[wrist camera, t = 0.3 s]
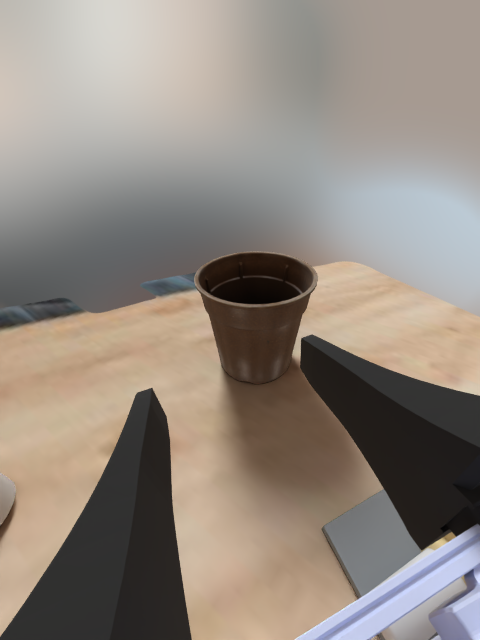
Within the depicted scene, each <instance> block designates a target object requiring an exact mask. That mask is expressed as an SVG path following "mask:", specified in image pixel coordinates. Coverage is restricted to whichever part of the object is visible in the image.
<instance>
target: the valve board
mask: <svg viewBox="0 0 480 640" xmlns="http://www.w3.org/2000/svg"><path fill="white" fill-rule="evenodd" d="M322 530H323V532H324V534H325V536H326V538H327V540H328V542H329V543H330V545H331V547H332V549H333V551H334V553H335V555H336V557H337V559H338V560H339V562H340V564H341V566H342V568H343V570H344V572H345V574H346V576H347V577H348V579H349V581H350V583H351V585H352V587H353V589H354V591H355V593H356V594H357V596H358V598H361V597H362V596H364V595H366V594H367V593H369V592H370V591H372V590H374V589H375V588H377V587H378V586H380V585H381V584H383V583H385V582H386V581H388V580H389V579H391V578H392V577H394V576H396V575H397V574H399V573H400V572H402V571H403V570H405V569H407V568H408V567H410V566H411V565H413V564H414V563H416V562H418V561H419V560H421V559H422V558H424V557H426V556H427V555H429V554H430V553H432V552H433V551H435V550H437V549H438V548H440V547H441V546H443V545H444V544H446V543H448V542H449V541H451V540H452V539H454V538H455V537H456V536H455V535H454V534H453V533H452V532H451V533H449V534H448V535H446V536H444V537H443V538H441V539H440V540H438V541H436V542H435V543H433V544H432V545H430V546H428V547H427V548H425V549H424V550H421V549H420V548H419V547H418V546H417V544H416V543H415V541H414V540H413V539H412V537H411V536H410V534H409V532H408V531H407V529H406V527H405V525H404V523H403V521H402V519H401V518H400V516H399V514H398V512H397V511H396V509H395V507H394V505H393V503H392V502H391V500H390V498H389V496H388V495H387V493H386V491H385V490H384V489H383V490H382V491H380V492H378V493H377V494H375V495H373V496H372V497H370V498H368V499H367V500H365V501H364V502H362V503H360V504H359V505H357V506H355V507H354V508H352V509H351V510H349V511H347V512H346V513H344V514H342V515H341V516H339V517H337V518H336V519H334V520H333V521H331V522H329V523H328V524H326V525H324V526H323V528H322ZM466 588H467V585H466V582H465V579H464V575H463V576H462V577H461V578H459V579H458V580H456V581H455V582H453V583H452V584H450V585H449V586H447V587H446V588H445V589H443V590H442V591H440V592H439V593H437V594H436V595H434V596H433V597H431V598H430V599H428V600H427V601H426V602H424V603H423V604H421V605H420V606H418V607H417V608H415V609H414V610H412V611H411V612H410V613H408V614H407V615H405V616H404V617H402V618H401V619H399V620H398V621H396V622H395V623H394V624H392V625H391V626H389V627H388V628H386V629H385V630H383V631H382V632H380V633H379V634H378V636H379V638H380V640H431V639H433V638H434V637H436V636H437V635H438V633H437V632H436V630H435V629H434V627H433V625H432V624H431V622H430V621H429V619H428V614H429V613H431V612H432V611H433V610H434V609H435V608H436V607H437V606H439V605H440V604H441V603H442V602H444V601H445V600H446V599H448V598H450V597H451V596H453V595H455V594H457V593H459V592H461V591H463V590H465V589H466Z"/></svg>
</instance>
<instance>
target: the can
mask: <svg viewBox="0 0 480 640" xmlns="http://www.w3.org/2000/svg"><path fill="white" fill-rule="evenodd" d="M15 494H16V488H15V484H14V482H13V481H12V480H10V479H9V478H8V477H6V476H5V475H3V474H2V473H0V525H1V524H2V523H3V521H4V520H5V518H6V517H7V515H8V513H9V511H10V509H11V507H12V505H13V503H14V499H15Z"/></svg>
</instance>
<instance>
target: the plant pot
mask: <svg viewBox="0 0 480 640" xmlns="http://www.w3.org/2000/svg"><path fill="white" fill-rule="evenodd" d="M317 281H318V276H317V273H316V271H315V270H314V269H313V268H312V267H311V266H310V265H309V264H307V263H306V262H304V261H302V260H300V259H298V258H295V257H293V256H289V255H285V254H280V253H273V252H241V253H235V254H230V255H226V256H222V257H219V258H217V259H214V260H212V261H210V262H208V263H206V264H205V265H203V266H202V267H201V268H200V269H199V270H198V271H197V272H196V274H195V278H194V282H195V285H196V288H197V290H198V291H199V292H200V293H201V296H202V299H203V303H204V306H205V309H206V311H207V313H208V314H209V317H210V321H211V325H212V328H213V332H214V336H215V340H216V344H217V348H218V352H219V356H220V361H221V364H222V366H223V368H224V370H225V371H226V372H227V373H228V374H229V375H230V376H231V377H233V378H234V379H236V380H238V381H247V382H251V383H253V384H262V383H267V382H270V381H272V380H275V379H277V378H278V377H280V376H281V375H282V374H284V373H285V372H286V370H287V369H288V367H289V364H290V361H291V356H292V352H293V348H294V344H295V341H296V337H297V333H298V329H299V326H300V322H301V318H302V314H303V313H304V312H305V310H306V308H307V305H308V301H309V298H310V294H311V293H312V292H313V291H314V289H315V287H316V285H317Z"/></svg>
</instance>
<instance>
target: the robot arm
mask: <svg viewBox="0 0 480 640" xmlns="http://www.w3.org/2000/svg"><path fill="white" fill-rule="evenodd" d="M300 368H301V370H302V372H303V373H304V375H305V377H306V378H307V380H308V381H309V383H310V384H311V386H312V387H313V388H314V390H315V391H316V392H317V393H318V395H319V396H320V397H321V398H322V400H323V401H324V402H325V403H326V405H327V406H328V407H329V408H330V410H331V411H332V412H333V413H334V414H335V416H336V417H337V418H338V419H339V421H340V422H341V423H342V425H343V426H344V427H345V429H346V430H347V431H348V433H349V434H350V436H351V437H352V439H353V440H354V442H355V443H356V445H357V446H358V448H359V449H360V451H361V452H362V454H363V455H364V457H365V459H366V460H367V462H368V463H369V465H370V466H371V468H372V470H373V471H374V473H375V475H376V476H377V478H378V480H379V481H380V483H381V485H382V486H383V488H384V490H385V491H386V493H387V495H388V496H389V498H390V500H391V502H392V503H393V505H394V507H395V509H396V511H397V512H398V514H399V516H400V518H401V519H402V521H403V523H404V525H405V527H406V529H407V531H408V532H409V534H410V536H411V537H412V539H413V540H414V541H415V543H416V544H417V546H418V547H419V548H420V549H421V550H424V549H425V548H427V547H428V546H430V545H432V544H433V543H435V542H436V541H438V540H440V539H441V538H443V537H444V536H446V535H448V534H449V533H451V532H452V533H453V534H454V535H455V536H456V537H455V538H454V539H452V540H451V541H449V542H448V543H446V544H444V545H443V546H441V547H440V548H438V549H437V550H435V551H433V552H432V553H430V554H429V555H427V556H426V557H424V558H422V559H421V560H419V561H418V562H416V563H414V564H413V565H411V566H410V567H408V568H407V569H405V570H403V571H402V572H400V573H399V574H397V575H396V576H394V577H392V578H391V579H389V580H388V581H386V582H385V583H383V584H381V585H380V586H378V587H377V588H375V589H374V590H372V591H370V592H369V593H367V594H366V595H364V596H362V597H361V598H359V599H358V600H356V601H355V602H353V603H351V604H350V605H348V606H347V607H345V608H344V609H342V610H340V611H339V612H337V613H336V614H334V615H333V616H331V617H329V618H328V619H326V620H325V621H323V622H322V623H320V624H318V625H317V626H315V627H314V628H312V629H310V630H309V631H307V632H306V633H304V634H303V635H301V636H299V637H298V638H296V639H295V640H370V639H372V638H373V637H375V636H376V635H378V634H379V633H380V632H382V631H383V630H385V629H386V628H388V627H389V626H391V625H392V624H394V623H395V622H396V621H398V620H399V619H401V618H402V617H404V616H405V615H407V614H408V613H410V612H411V611H412V610H414V609H415V608H417V607H418V606H420V605H421V604H423V603H424V602H426V601H427V600H428V599H430V598H431V597H433V596H434V595H436V594H437V593H439V592H440V591H442V590H443V589H445V588H446V587H447V586H449V585H450V584H452V583H453V582H455V581H456V580H458V579H459V578H461V577H462V576H463V575H464V579H465V582H466V585H467V588H466V589H465V590H463V591H461V592H459V593H457V594H455V595H453V596H451V597H450V598H448V599H446V600H445V601H444V602H442V603H441V604H440V605H439V606H437V607H436V608H435V609H434V610H433V611H432V612H431V613H429V614H428V619H429V621H430V622H431V624H432V625H433V627H434V629H435V630H436V632H437V633H438V635H437V636H436V637H434V638H433V639H431V640H480V396H478V395H474V394H469V393H465V392H461V391H456V390H453V389H449V388H445V387H441V386H438V385H434V384H431V383H427V382H424V381H420V380H417V379H414V378H411V377H408V376H405V375H402V374H400V373H397V372H394V371H391V370H388V369H386V368H383V367H381V366H378V365H376V364H374V363H371V362H369V361H367V360H364V359H362V358H360V357H358V356H355V355H353V354H351V353H349V352H347V351H345V350H343V349H341V348H339V347H337V346H335V345H333V344H331V343H329V342H327V341H325V340H323V339H321V338H319V337H317V336H314V335H309V336H306V337H303V338H301V361H300ZM0 640H192V639H191V633H190V626H189V620H188V614H187V608H186V602H185V595H184V588H183V582H182V575H181V568H180V561H179V554H178V546H177V539H176V531H175V523H174V515H173V505H172V485H171V456H170V437H169V430H168V423H167V417H166V415H165V413H164V411H163V409H162V407H161V405H160V403H159V401H158V399H157V397H156V395H155V393H154V391H153V389H152V388H150V389H147V390H144V391H141V392H138V393H137V394H136V396H135V399H134V401H133V404H132V407H131V410H130V412H129V415H128V418H127V420H126V423H125V425H124V428H123V430H122V433H121V435H120V437H119V440H118V442H117V444H116V447H115V449H114V451H113V453H112V455H111V458H110V460H109V462H108V464H107V466H106V468H105V470H104V472H103V474H102V476H101V478H100V480H99V482H98V484H97V486H96V488H95V490H94V492H93V494H92V495H91V497H90V499H89V501H88V503H87V504H86V506H85V508H84V510H83V511H82V513H81V515H80V517H79V518H78V520H77V522H76V523H75V525H74V527H73V528H72V530H71V532H70V533H69V535H68V537H67V538H66V540H65V542H64V543H63V545H62V546H61V548H60V550H59V551H58V553H57V554H56V556H55V557H54V559H53V561H52V562H51V564H50V565H49V567H48V568H47V570H46V571H45V573H44V574H43V576H42V577H41V579H40V580H39V582H38V583H37V585H36V586H35V588H34V589H33V591H32V592H31V594H30V595H29V597H28V598H27V600H26V601H25V603H24V604H23V606H22V607H21V608H20V610H19V611H18V613H17V614H16V616H15V617H14V618H13V620H12V621H11V623H10V624H9V625H8V627H7V628H6V630H5V631H4V632H3V634H2V635H1V637H0Z"/></svg>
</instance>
